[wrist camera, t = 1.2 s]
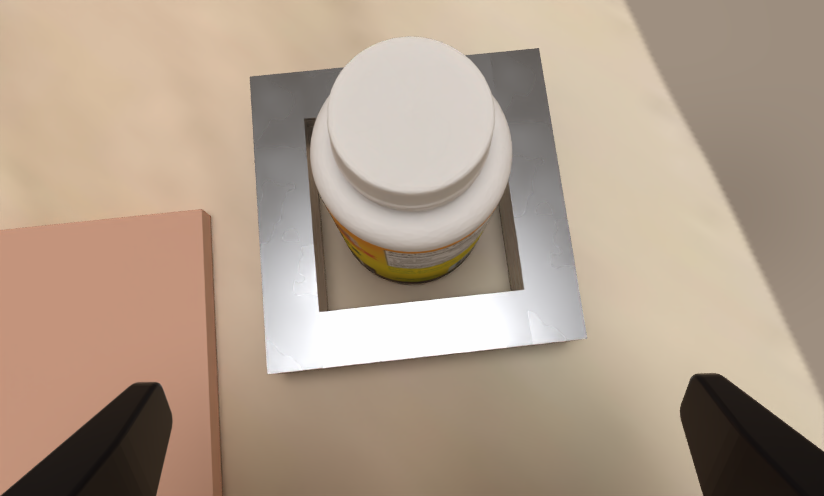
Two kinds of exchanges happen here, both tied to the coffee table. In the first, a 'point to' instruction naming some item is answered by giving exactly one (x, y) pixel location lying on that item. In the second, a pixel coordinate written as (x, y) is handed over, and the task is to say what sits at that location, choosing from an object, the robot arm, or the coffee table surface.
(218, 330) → the coffee table surface
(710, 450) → the robot arm
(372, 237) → the supplement bottle
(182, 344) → the tile
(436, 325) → the frame
